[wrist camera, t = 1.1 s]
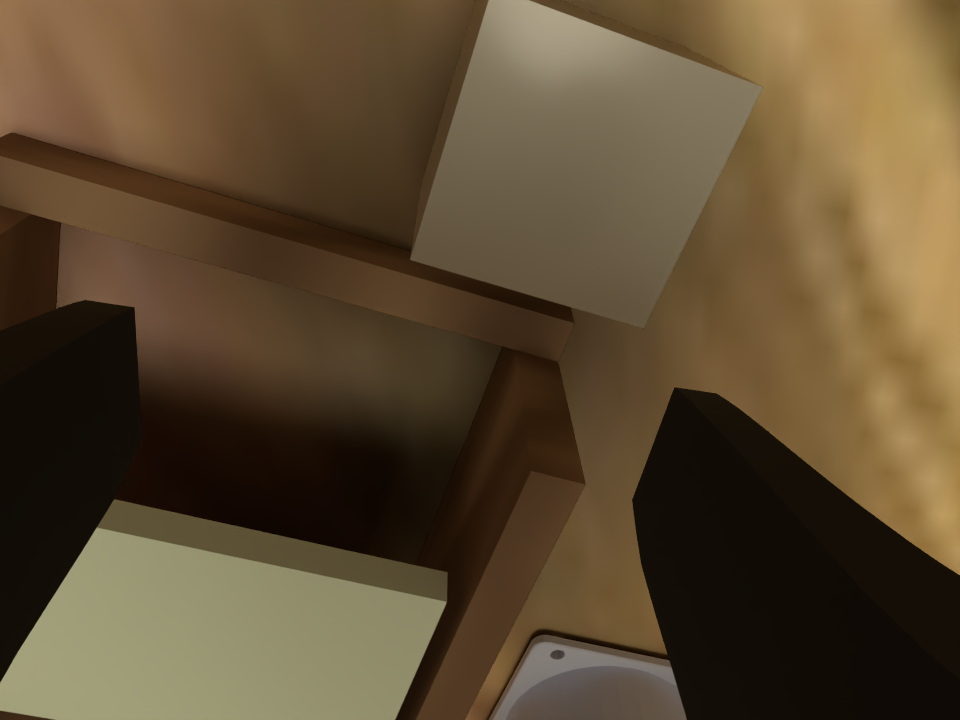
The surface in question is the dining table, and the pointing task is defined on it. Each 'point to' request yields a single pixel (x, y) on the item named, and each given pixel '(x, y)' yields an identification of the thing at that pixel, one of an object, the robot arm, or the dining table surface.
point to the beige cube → (574, 156)
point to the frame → (377, 286)
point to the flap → (223, 627)
